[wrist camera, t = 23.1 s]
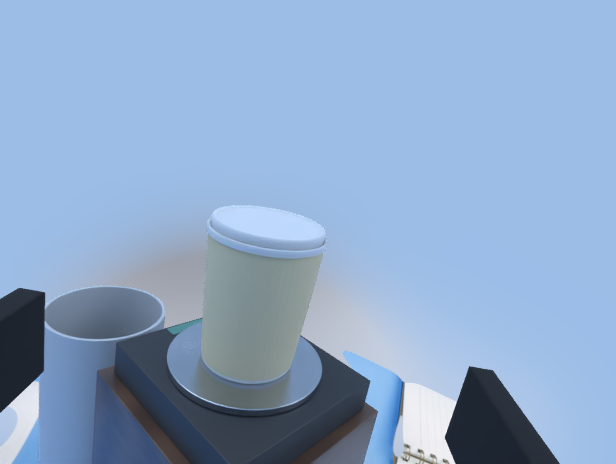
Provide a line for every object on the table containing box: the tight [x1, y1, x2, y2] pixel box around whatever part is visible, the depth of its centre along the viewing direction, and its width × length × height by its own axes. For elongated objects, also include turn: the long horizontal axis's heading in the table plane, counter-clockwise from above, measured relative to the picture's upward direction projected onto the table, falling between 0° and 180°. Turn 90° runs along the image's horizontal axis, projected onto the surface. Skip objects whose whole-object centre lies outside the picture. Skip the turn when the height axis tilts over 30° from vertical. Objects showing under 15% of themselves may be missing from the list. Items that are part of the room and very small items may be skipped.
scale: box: [114, 318, 370, 464], centre depth 35 cm, size 16×15×3 cm
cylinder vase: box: [38, 286, 165, 464], centre depth 49 cm, size 12×12×25 cm
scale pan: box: [166, 322, 322, 416], centre depth 35 cm, size 13×13×1 cm
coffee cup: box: [201, 205, 328, 384], centre depth 33 cm, size 9×9×12 cm
